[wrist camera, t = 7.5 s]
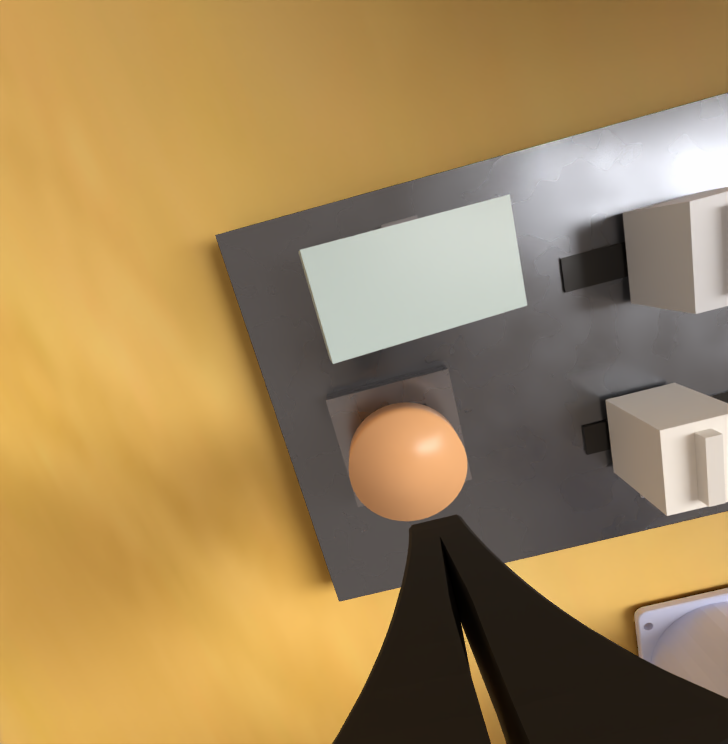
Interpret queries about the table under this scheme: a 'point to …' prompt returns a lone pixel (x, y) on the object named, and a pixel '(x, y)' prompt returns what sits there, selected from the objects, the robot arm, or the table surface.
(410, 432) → the button
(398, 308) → the plate
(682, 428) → the slider
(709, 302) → the slider
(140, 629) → the table surface
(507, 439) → the panel
